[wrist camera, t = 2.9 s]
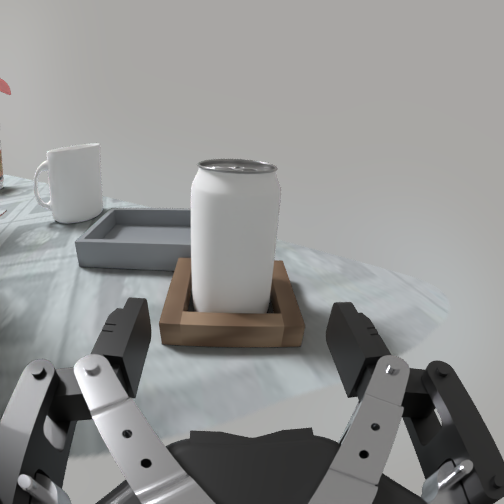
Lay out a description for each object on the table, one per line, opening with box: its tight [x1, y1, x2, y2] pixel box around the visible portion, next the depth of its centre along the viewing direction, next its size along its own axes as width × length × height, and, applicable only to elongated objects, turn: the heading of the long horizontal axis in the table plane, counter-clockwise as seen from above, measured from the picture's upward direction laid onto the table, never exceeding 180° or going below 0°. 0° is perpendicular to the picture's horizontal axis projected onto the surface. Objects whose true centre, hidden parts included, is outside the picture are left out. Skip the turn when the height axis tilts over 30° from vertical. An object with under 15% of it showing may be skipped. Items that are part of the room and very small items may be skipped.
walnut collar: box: [159, 258, 305, 347], centre depth 25 cm, size 10×10×2 cm
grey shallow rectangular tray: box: [75, 208, 191, 271], centre depth 35 cm, size 14×12×3 cm
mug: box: [33, 144, 103, 224], centre depth 41 cm, size 10×12×12 cm
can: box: [191, 159, 281, 314], centre depth 23 cm, size 6×6×12 cm
